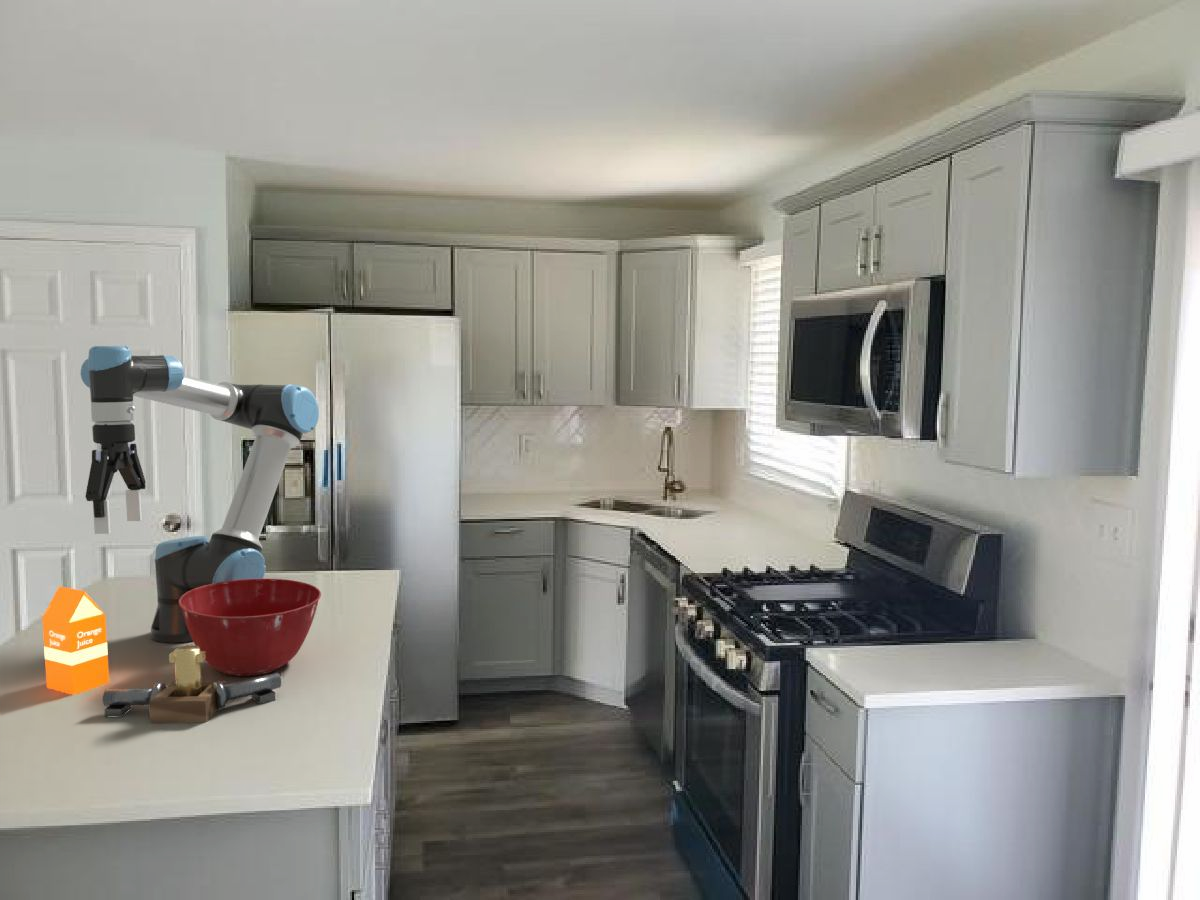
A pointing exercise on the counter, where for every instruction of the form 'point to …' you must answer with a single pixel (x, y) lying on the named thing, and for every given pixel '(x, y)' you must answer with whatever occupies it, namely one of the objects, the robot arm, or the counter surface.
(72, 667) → the orange juice
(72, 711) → the counter surface
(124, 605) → the counter surface
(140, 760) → the counter surface
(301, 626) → the mixing bowl
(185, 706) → the coupling block
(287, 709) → the counter surface
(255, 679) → the shaft
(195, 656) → the joint pin
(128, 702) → the shaft
